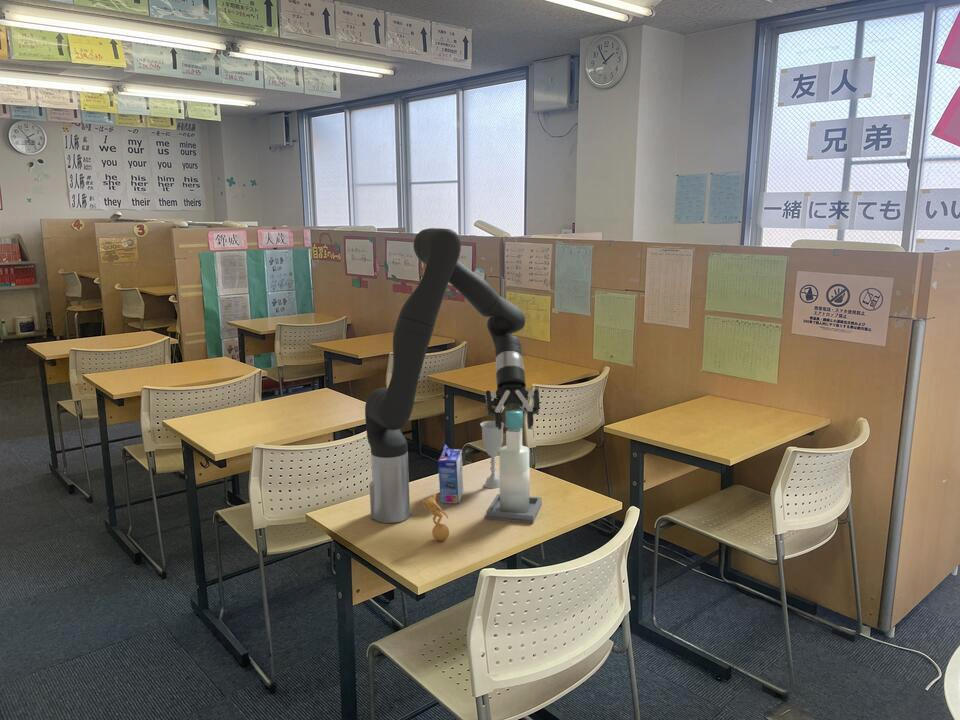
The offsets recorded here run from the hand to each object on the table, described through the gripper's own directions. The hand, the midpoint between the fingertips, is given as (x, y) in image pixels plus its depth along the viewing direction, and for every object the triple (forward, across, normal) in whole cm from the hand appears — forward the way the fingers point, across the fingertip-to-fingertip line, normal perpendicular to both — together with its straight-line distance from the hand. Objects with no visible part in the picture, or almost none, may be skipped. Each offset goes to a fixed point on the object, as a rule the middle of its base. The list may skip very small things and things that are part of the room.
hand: (514, 427), depth 175 cm
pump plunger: (+3, 0, +5) cm, 6 cm away
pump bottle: (+15, 0, +17) cm, 23 cm away
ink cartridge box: (+7, -16, +26) cm, 31 cm away
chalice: (+2, -4, +31) cm, 32 cm away
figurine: (+26, -20, +6) cm, 34 cm away
